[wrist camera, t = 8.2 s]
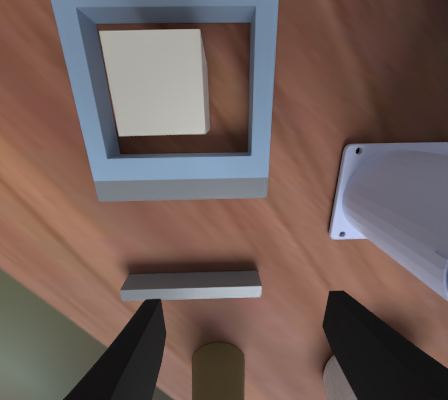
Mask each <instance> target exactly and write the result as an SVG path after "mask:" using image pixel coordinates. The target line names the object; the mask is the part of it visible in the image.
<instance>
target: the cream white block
mask: <svg viewBox="0 0 448 400" xmlns="http://www.w3.org/2000/svg"><path fill="white" fill-rule="evenodd" d="M99 34H100V39H101V44H102V49H103V55H104V60H105V65H106V71H107V76H108V81H109V86H110V92H111V97H112V102H113V107H114V113H115V118H116V123H117V128H118V134H119V136H145V135H182V134H206V133H207V132H208V131H209V130H210V111H209V89H208V67H207V61H206V56H205V52H204V47H203V42H202V37H201V32H200V29H173V30H124V31H99Z"/></svg>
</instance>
